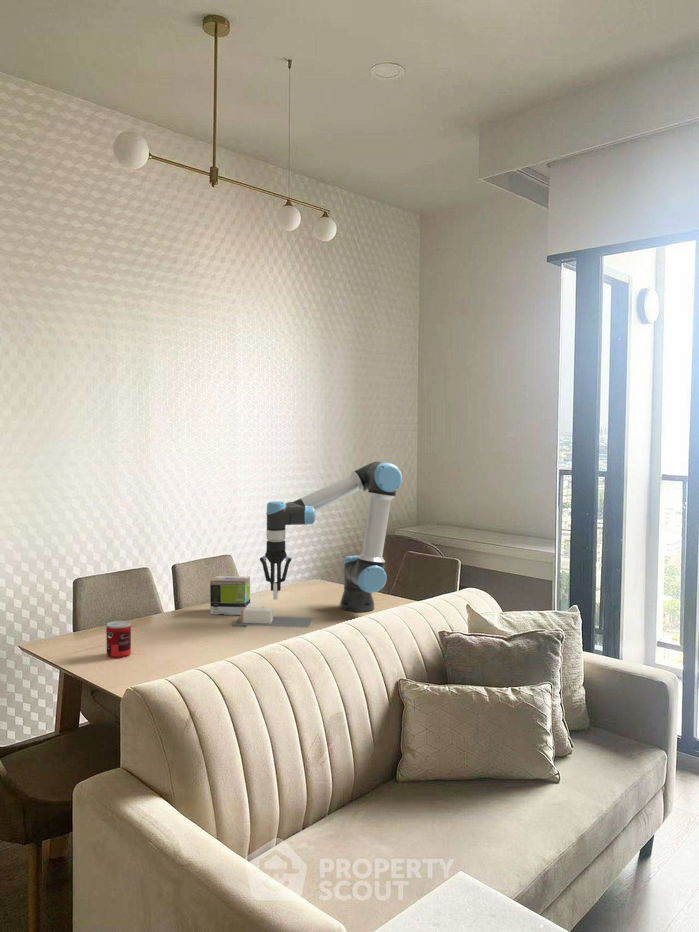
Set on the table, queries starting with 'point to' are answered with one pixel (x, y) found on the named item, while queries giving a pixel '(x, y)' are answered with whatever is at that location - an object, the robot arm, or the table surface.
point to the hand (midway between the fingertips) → (275, 598)
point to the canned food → (118, 639)
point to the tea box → (229, 594)
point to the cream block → (256, 615)
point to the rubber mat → (280, 622)
